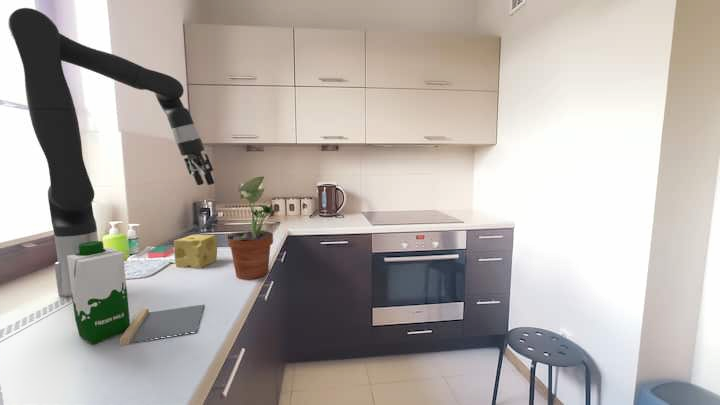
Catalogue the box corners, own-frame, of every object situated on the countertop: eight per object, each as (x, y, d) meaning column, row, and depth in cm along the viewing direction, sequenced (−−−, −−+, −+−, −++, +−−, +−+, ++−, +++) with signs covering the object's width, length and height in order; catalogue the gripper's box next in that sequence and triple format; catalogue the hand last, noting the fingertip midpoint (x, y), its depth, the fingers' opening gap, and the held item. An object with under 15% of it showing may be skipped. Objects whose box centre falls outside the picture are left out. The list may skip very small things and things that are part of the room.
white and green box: (119, 319, 76) (110, 237, 74) (137, 329, 72) (128, 242, 69) (72, 336, 69) (60, 246, 66) (88, 349, 64) (76, 252, 62)
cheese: (200, 269, 112) (197, 241, 111) (173, 267, 114) (171, 240, 113) (218, 260, 122) (216, 234, 121) (194, 258, 124) (192, 233, 123)
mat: (120, 345, 65) (119, 338, 65) (141, 314, 78) (141, 309, 78) (196, 332, 70) (195, 326, 70) (204, 306, 83) (203, 300, 83)
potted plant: (286, 271, 109) (282, 168, 105) (249, 285, 97) (243, 169, 92) (256, 263, 118) (251, 168, 113) (219, 275, 105) (211, 169, 101)
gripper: (169, 144, 111) (187, 188, 116) (185, 140, 102) (204, 187, 106) (190, 139, 116) (207, 181, 121) (207, 134, 107) (225, 180, 112)
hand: (205, 184), depth 114 cm, fingers open, 8 cm apart
